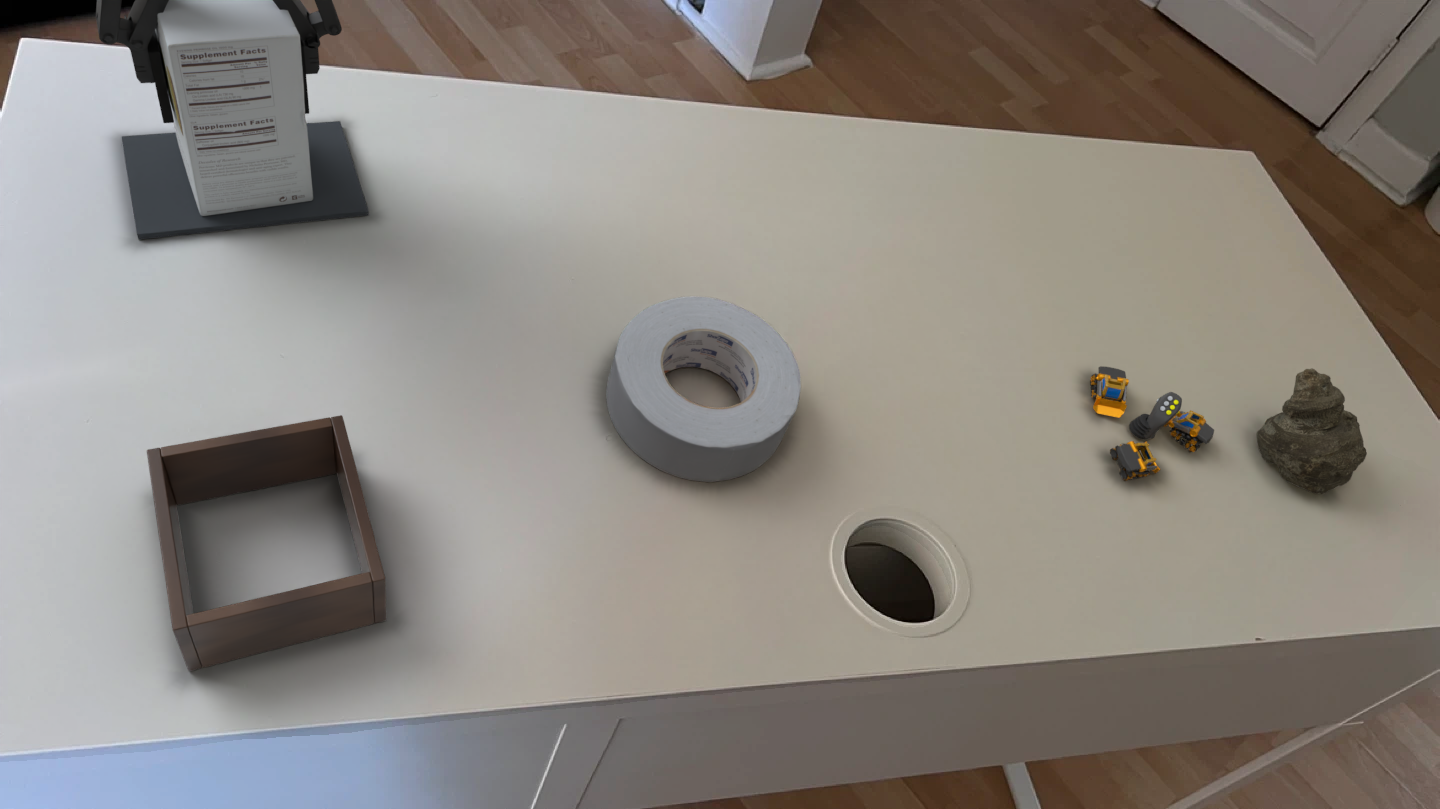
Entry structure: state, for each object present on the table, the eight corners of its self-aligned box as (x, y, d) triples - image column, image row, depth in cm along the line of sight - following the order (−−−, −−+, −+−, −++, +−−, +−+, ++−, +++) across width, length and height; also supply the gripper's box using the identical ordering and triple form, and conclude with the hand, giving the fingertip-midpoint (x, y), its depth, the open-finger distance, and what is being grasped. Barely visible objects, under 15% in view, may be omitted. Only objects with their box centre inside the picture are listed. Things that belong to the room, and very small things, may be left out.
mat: (138, 239, 86) (136, 234, 85) (122, 141, 91) (121, 135, 91) (368, 215, 93) (368, 210, 92) (340, 125, 99) (340, 120, 98)
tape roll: (796, 487, 86) (814, 452, 82) (607, 477, 82) (618, 439, 78) (773, 341, 95) (789, 303, 91) (603, 326, 91) (612, 286, 87)
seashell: (1338, 354, 103) (1256, 354, 100) (1448, 396, 92) (1361, 397, 89) (1304, 462, 107) (1224, 465, 103) (1406, 514, 96) (1321, 518, 93)
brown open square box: (188, 672, 66) (172, 630, 62) (162, 498, 73) (146, 449, 68) (386, 621, 71) (385, 578, 67) (345, 462, 78) (342, 414, 73)
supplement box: (176, 144, 92) (138, -35, 79) (287, 130, 96) (269, -41, 83) (200, 220, 87) (165, 44, 74) (316, 202, 91) (301, 33, 79)
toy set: (1052, 437, 96) (1078, 405, 92) (1095, 368, 103) (1121, 336, 99) (1170, 515, 93) (1201, 486, 90) (1206, 439, 100) (1236, 409, 97)
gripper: (357, -194, 75) (365, 71, 93) (-9, -211, 66) (76, 86, 84) (381, -138, 72) (385, 127, 89) (-3, -147, 63) (85, 149, 80)
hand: (235, 107), depth 86 cm, fingers closed on supplement box, 9 cm apart
